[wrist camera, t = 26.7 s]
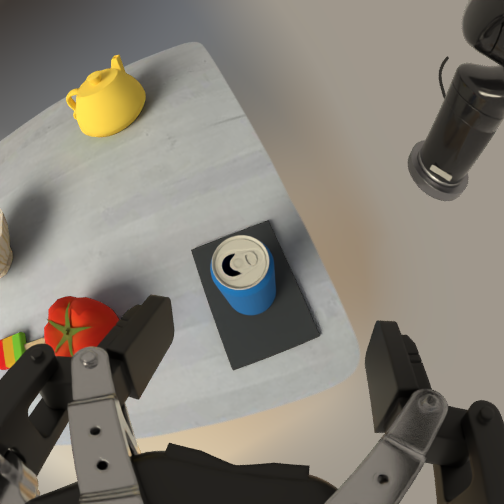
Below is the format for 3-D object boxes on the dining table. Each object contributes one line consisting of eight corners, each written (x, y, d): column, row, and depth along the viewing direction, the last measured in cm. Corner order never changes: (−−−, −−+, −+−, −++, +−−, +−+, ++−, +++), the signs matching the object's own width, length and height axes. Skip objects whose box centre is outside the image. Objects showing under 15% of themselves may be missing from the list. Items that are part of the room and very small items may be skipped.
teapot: (137, 136, 55) (112, 90, 44) (68, 149, 57) (39, 113, 46) (160, 78, 63) (144, 37, 51) (96, 93, 65) (77, 58, 53)
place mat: (192, 251, 45) (191, 249, 44) (268, 221, 45) (268, 220, 45) (233, 370, 38) (232, 370, 37) (319, 336, 38) (320, 335, 38)
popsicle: (-1, 343, 41) (-8, 342, 40) (46, 325, 42) (39, 323, 40) (2, 371, 39) (-4, 370, 38) (51, 356, 40) (44, 355, 38)
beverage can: (221, 278, 42) (200, 243, 31) (266, 263, 42) (260, 222, 31) (236, 323, 39) (218, 303, 28) (283, 306, 40) (283, 280, 29)
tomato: (147, 358, 39) (118, 353, 31) (86, 393, 37) (51, 393, 30) (113, 285, 44) (83, 266, 36) (59, 323, 42) (25, 311, 34)
